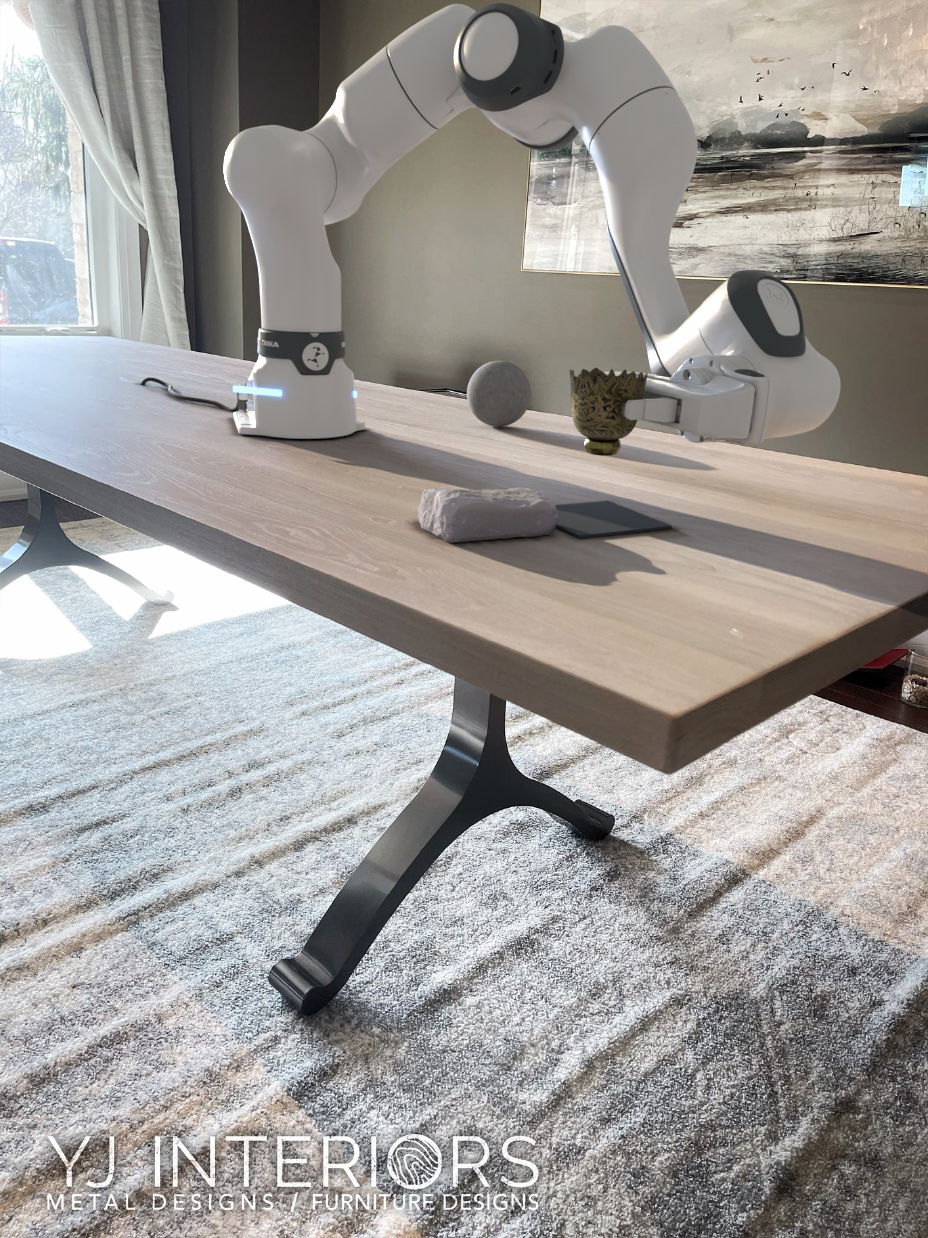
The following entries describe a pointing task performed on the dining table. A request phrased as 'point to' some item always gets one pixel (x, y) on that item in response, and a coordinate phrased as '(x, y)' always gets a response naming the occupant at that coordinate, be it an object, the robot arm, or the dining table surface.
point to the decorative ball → (498, 393)
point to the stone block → (486, 513)
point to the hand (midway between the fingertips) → (598, 402)
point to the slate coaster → (603, 520)
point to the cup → (603, 407)
